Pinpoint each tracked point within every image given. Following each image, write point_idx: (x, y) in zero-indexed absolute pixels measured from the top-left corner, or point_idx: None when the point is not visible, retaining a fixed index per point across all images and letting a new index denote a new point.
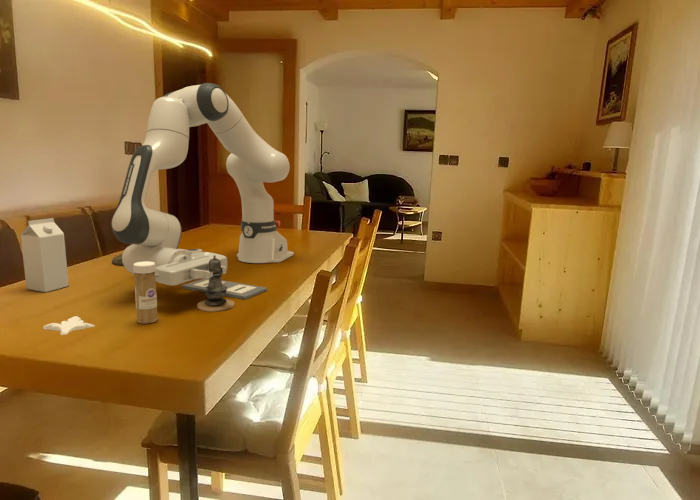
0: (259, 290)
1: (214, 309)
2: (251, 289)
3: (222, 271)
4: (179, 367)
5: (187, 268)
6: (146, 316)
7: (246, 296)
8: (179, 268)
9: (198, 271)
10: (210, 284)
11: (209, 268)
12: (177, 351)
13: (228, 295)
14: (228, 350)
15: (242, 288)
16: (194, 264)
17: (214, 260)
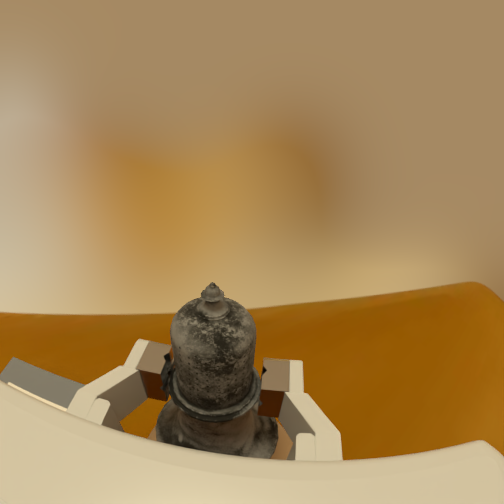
0: (38, 371)
1: (283, 429)
2: (30, 392)
3: (173, 357)
4: (493, 308)
5: (380, 458)
6: None
7: None
8: (441, 468)
9: (321, 416)
10: (250, 423)
11: (247, 376)
12: (484, 338)
13: None
14: (425, 293)
15: None
16: (265, 480)
17: (237, 306)
